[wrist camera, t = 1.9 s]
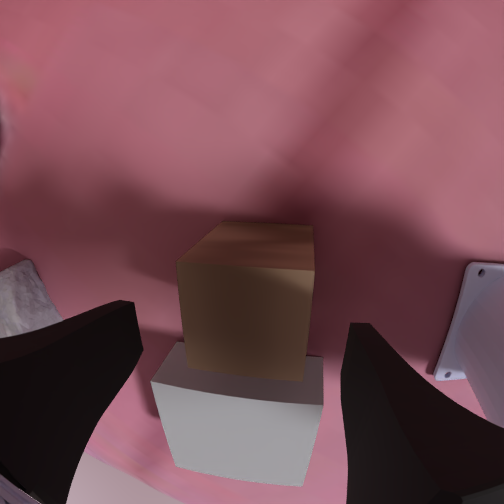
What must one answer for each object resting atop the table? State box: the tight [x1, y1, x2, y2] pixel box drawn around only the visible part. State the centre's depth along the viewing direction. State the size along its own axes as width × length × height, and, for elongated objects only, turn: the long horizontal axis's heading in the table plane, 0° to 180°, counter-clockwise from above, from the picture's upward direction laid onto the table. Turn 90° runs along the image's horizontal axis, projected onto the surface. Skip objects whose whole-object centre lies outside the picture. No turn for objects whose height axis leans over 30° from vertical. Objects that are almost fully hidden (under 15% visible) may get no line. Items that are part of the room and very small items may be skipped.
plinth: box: [150, 341, 323, 486], centre depth 18 cm, size 9×9×4 cm
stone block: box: [0, 260, 63, 338], centre depth 21 cm, size 12×5×10 cm
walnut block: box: [176, 221, 315, 382], centre depth 13 cm, size 4×4×6 cm
